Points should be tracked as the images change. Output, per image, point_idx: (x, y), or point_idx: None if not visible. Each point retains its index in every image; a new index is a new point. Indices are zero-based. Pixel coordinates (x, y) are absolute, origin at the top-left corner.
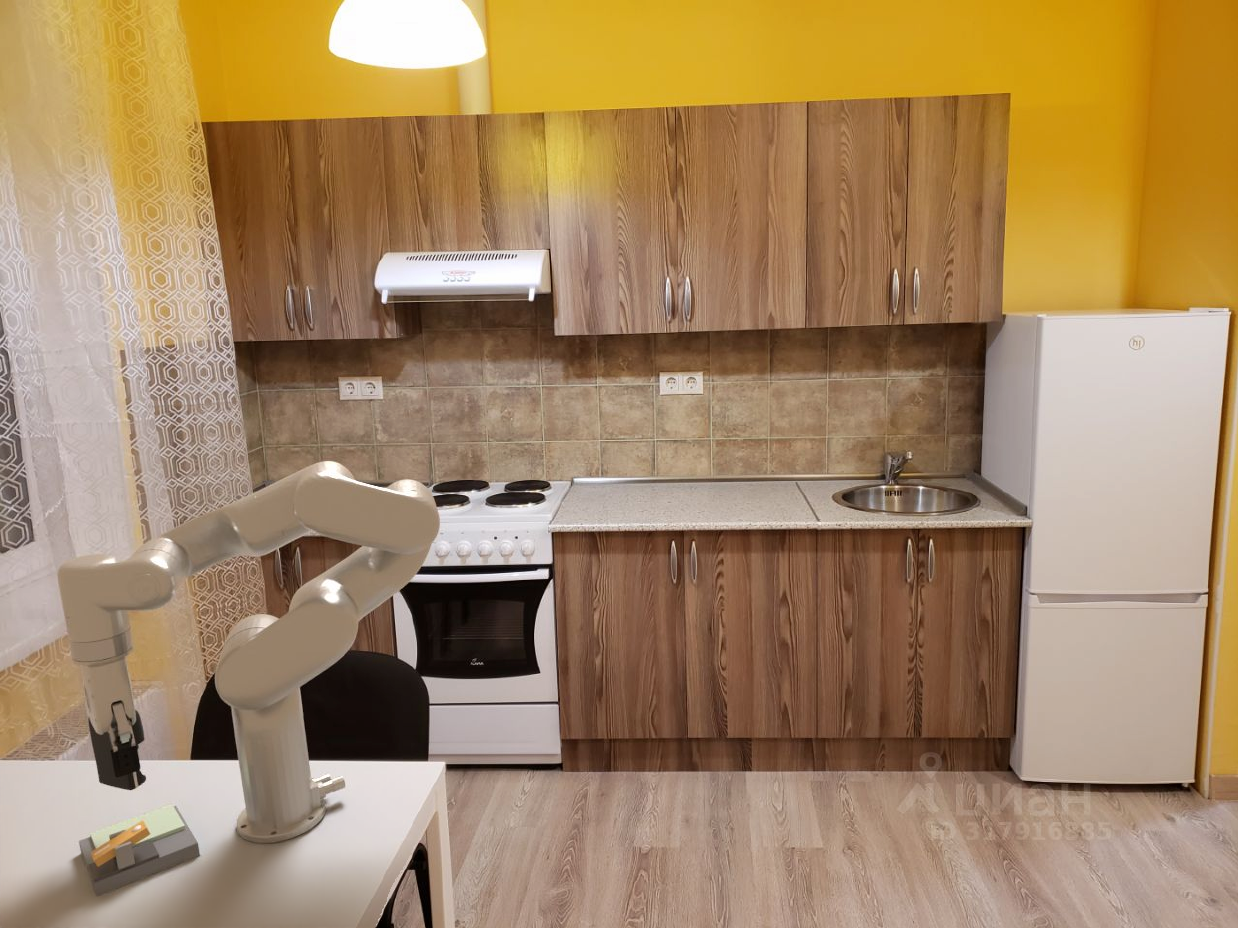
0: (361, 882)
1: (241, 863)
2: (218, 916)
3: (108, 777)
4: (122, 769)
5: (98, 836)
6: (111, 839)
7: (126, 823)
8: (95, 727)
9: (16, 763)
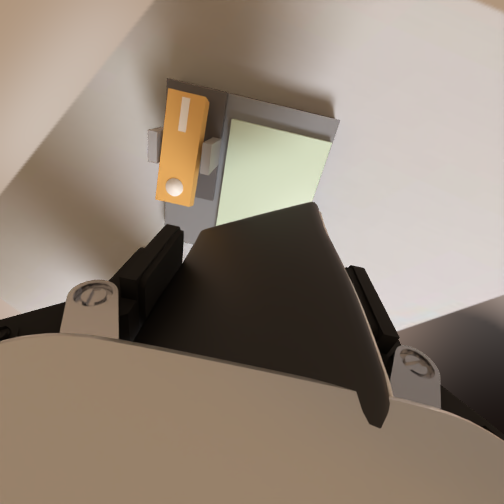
0: (6, 293)
1: (117, 248)
2: (18, 179)
3: (271, 220)
4: (138, 250)
5: (304, 148)
6: (198, 142)
7: (300, 198)
8: (50, 374)
9: None
